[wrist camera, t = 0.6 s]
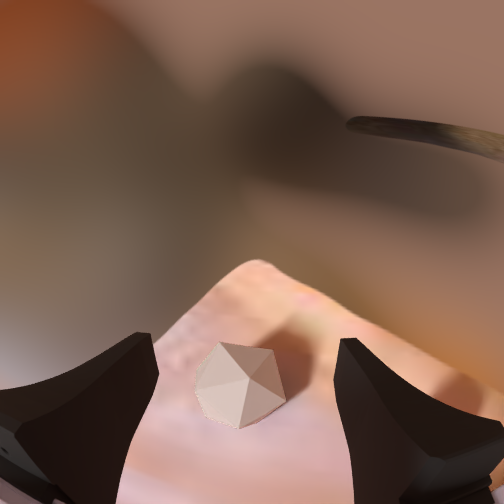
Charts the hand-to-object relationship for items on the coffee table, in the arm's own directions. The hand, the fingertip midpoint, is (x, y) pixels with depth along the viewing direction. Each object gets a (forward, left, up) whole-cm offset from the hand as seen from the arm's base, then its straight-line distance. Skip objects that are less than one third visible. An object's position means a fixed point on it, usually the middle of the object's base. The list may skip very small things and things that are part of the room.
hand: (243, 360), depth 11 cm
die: (+7, +6, -19) cm, 21 cm away
